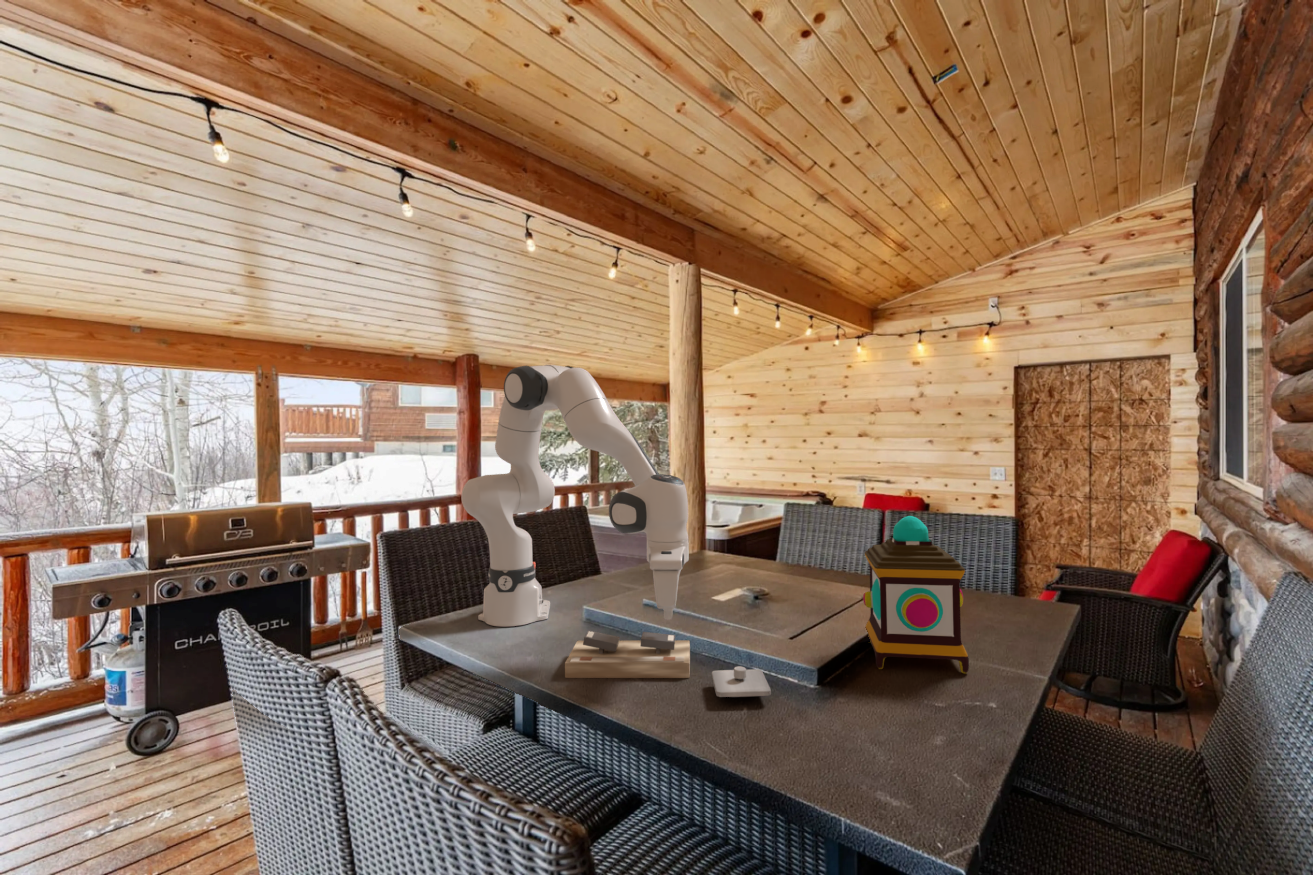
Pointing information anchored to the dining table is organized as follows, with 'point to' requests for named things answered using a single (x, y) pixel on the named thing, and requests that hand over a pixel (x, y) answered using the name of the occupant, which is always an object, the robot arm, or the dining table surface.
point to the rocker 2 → (658, 640)
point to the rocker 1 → (601, 640)
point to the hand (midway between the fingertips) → (668, 617)
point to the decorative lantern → (914, 598)
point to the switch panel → (629, 661)
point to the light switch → (740, 683)
